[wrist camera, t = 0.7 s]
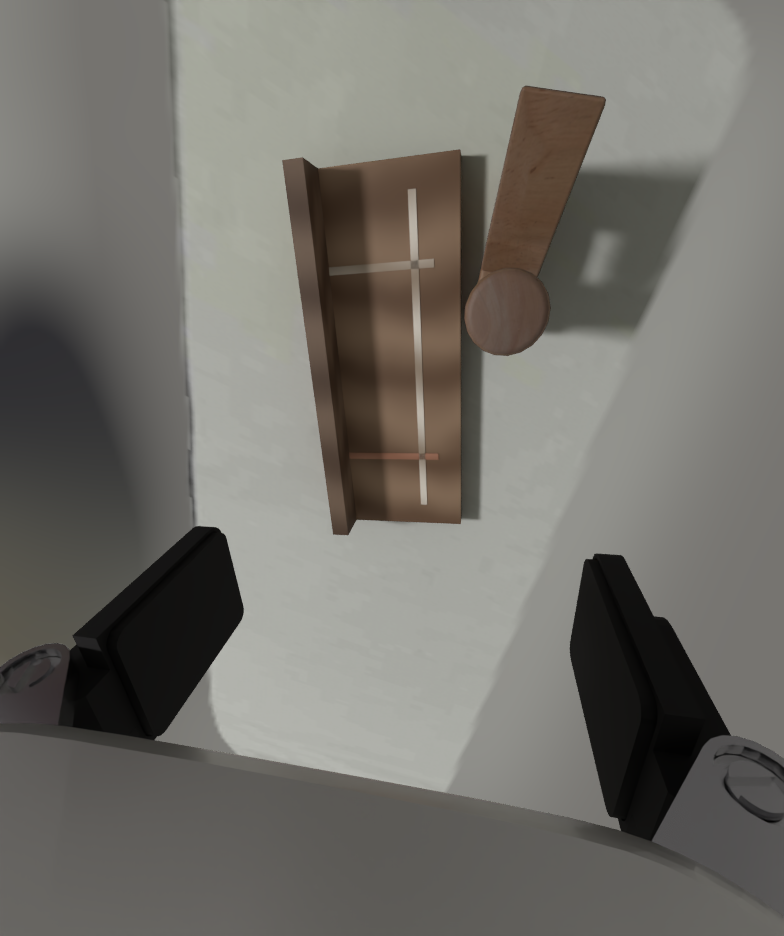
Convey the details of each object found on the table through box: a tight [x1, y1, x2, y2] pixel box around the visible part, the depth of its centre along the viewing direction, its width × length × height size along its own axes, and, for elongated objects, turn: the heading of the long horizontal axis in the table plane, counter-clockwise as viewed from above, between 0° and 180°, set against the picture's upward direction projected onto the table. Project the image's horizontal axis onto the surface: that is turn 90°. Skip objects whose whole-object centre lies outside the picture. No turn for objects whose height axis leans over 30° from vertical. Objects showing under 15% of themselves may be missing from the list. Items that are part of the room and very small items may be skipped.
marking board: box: [282, 150, 461, 535], centre depth 36 cm, size 30×12×4 cm, turn 4°
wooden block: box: [464, 86, 606, 356], centre depth 24 cm, size 4×11×18 cm, turn 170°
